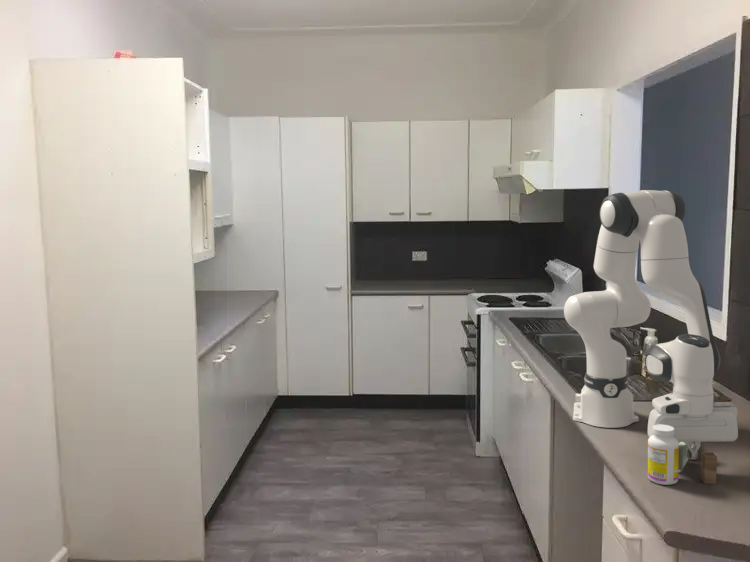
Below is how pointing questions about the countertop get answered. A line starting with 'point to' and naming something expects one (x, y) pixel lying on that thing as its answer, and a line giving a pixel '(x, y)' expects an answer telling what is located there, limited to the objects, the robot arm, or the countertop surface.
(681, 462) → the pale green flat block
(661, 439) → the supplement bottle
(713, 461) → the fence
